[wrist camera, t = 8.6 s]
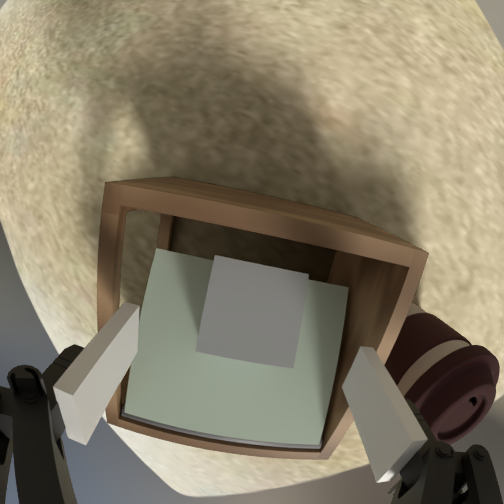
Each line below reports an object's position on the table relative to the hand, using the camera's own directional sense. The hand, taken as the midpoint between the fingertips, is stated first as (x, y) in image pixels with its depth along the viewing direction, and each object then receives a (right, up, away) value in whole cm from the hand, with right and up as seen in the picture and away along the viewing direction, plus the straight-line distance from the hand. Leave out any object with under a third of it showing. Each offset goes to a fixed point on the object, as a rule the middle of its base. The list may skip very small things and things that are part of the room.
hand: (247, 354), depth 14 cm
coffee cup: (+16, -4, +16) cm, 22 cm away
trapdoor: (-1, -3, +6) cm, 7 cm away
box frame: (0, +2, +14) cm, 14 cm away
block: (0, +1, +6) cm, 6 cm away
